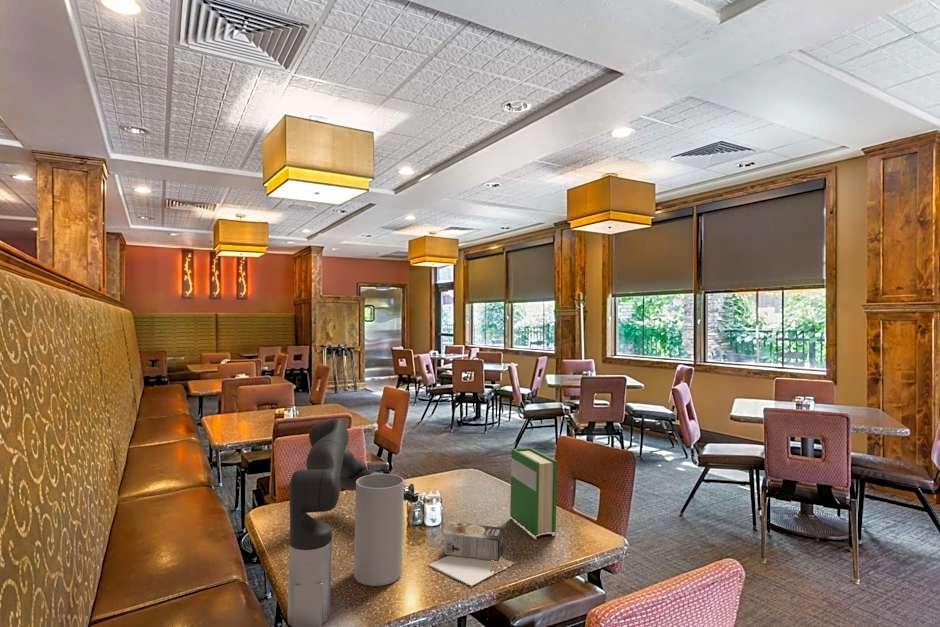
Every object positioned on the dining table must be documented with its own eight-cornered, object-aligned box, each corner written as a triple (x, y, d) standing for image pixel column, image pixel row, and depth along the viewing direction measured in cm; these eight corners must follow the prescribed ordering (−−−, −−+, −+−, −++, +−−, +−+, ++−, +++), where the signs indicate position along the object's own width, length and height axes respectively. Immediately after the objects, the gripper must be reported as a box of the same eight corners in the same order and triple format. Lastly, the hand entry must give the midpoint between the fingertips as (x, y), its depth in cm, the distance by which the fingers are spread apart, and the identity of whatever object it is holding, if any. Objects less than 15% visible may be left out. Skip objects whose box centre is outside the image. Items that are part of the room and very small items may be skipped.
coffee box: (452, 521, 158) (504, 526, 155) (451, 542, 158) (504, 548, 155) (444, 533, 149) (500, 539, 146) (443, 555, 149) (499, 562, 146)
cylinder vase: (380, 559, 147) (382, 471, 147) (411, 574, 139) (413, 480, 139) (343, 576, 137) (346, 481, 137) (375, 593, 129) (377, 492, 130)
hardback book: (555, 536, 165) (557, 460, 166) (535, 539, 163) (536, 462, 163) (529, 516, 182) (530, 447, 182) (510, 519, 179) (511, 449, 179)
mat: (515, 564, 146) (515, 562, 146) (471, 587, 133) (471, 585, 133) (473, 546, 157) (473, 544, 157) (429, 566, 144) (429, 564, 144)
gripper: (365, 478, 168) (400, 491, 157) (397, 470, 178) (432, 482, 166) (365, 501, 168) (399, 516, 157) (397, 492, 178) (431, 505, 166)
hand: (416, 499), depth 161 cm, fingers closed
